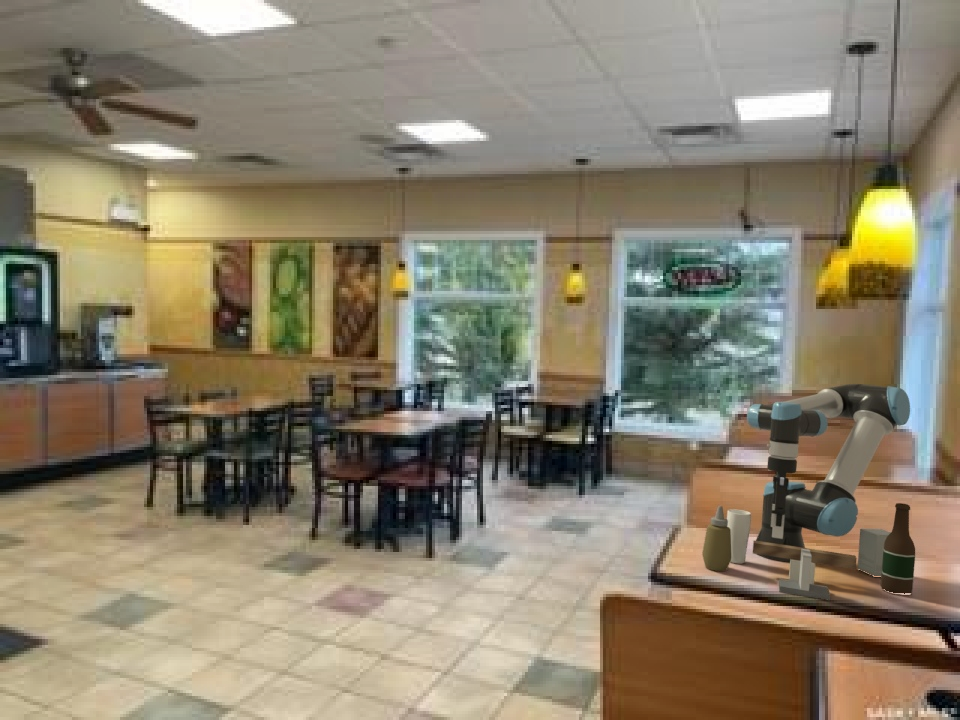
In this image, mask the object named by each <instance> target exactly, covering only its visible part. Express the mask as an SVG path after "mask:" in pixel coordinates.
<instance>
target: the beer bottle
mask: <svg viewBox="0 0 960 720" xmlns="http://www.w3.org/2000/svg"><path fill="white" fill-rule="evenodd" d="M894 507H895V515H894V520H893V526H892V529H891V531H890V532H891V533H890V534H889V535H888V536H887V538H886V540H885V542H884V549H883V561H882V574H881V578H880V587H881V589H885V590H886V591H889V592H893V593H904V594H905V593H912V594H913V590H914V589H913V588H914V576H915V565H916V564H915V563H916V547H915V543H914V541H913V539H912V537H911V536H910V510H911V506H910V505H909V504H908V503H904V502H903V503H902V502H898V503H895V505H894Z"/></svg>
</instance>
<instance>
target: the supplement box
mask: <svg viewBox="0 0 960 720" xmlns="http://www.w3.org/2000/svg"><path fill="white" fill-rule="evenodd" d="M891 532H892V531H887V530H885V529H882V528H859V542H858V554H857V555H858V556H857V557H858V558H857V566H856V569H857V568H858V569H860V570H862V571H865V572H867V573H869V574H871V575H874V576H881V574H882V561H883V549H884V542H885V540H886V538H887V536H888V535H889V534H890V533H891Z"/></svg>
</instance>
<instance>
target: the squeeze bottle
mask: <svg viewBox="0 0 960 720" xmlns="http://www.w3.org/2000/svg"><path fill="white" fill-rule="evenodd" d="M706 526H707V527H706V530H705V537H704V542H703V546H702V547H703V548H702V554H701V555H702V558H703V563H704V567H705V568H707V569H709V570H711V571H714V570H715V571H714V572H725V571H727V570H728V567H729V565H730V563H731V562H730V561H731V530H730V528H729V527H727V526H728V520H727V518H725V514H724V508H723V506H722V505H718V506H717V509H716V513H715V515H714V516H713V517H711V518H710V524H708V525H706Z"/></svg>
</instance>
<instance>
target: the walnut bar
mask: <svg viewBox="0 0 960 720" xmlns="http://www.w3.org/2000/svg"><path fill="white" fill-rule="evenodd" d="M752 541H753V545H752V554H753V555H755V554H756V555H758V554H760V555H766V556H773V557H779V558H786V559H792V560H799V561H801V549H808V550H810V553H811V556H812V557H811V562H812V563H815V564H817V565H818V564H820V565H826V566H833V567H838V568H844V569H852V570H857V561H858V558H857V556H856V555H855V554H849V553H848V554H847V553H841V552H840V553H839V552H834V551H828V550H827V551H826V550H819V549H814V548H807V547H805V548H801V547H795V546H788V545H781V544H775V543H768V542H761V541H756V540H752ZM760 555H759V556H760Z"/></svg>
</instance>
